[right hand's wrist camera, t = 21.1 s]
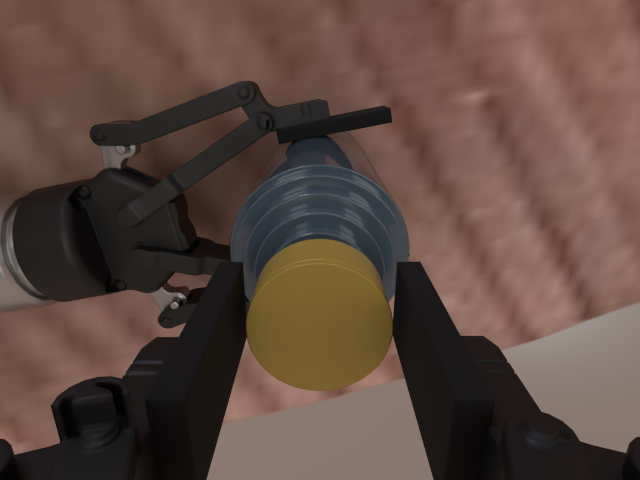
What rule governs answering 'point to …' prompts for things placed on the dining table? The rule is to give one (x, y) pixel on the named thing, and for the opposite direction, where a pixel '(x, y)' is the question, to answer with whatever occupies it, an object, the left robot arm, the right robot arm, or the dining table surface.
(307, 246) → the cap
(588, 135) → the dining table surface
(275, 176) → the bottle
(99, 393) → the right robot arm
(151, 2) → the dining table surface
